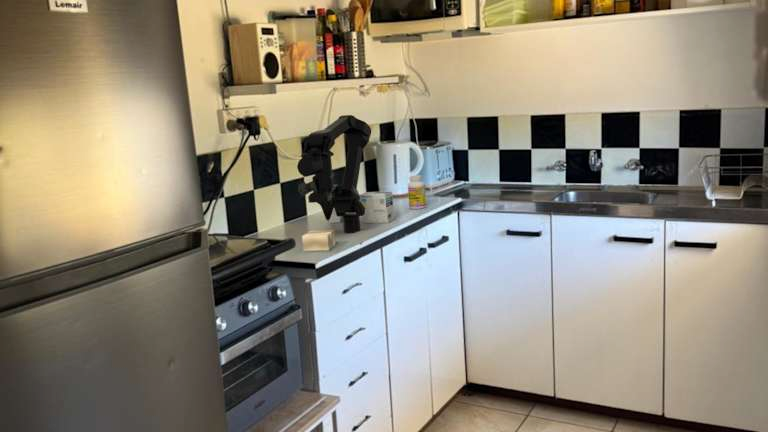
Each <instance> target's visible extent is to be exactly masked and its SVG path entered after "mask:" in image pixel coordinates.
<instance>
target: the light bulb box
mask: <svg viewBox="0 0 768 432" xmlns="http://www.w3.org/2000/svg"><path fill="white" fill-rule="evenodd" d="M359 195H360V202H361V203H362V205H363V206H364V207H365V214H364V215H363V216H361V223H362V224H388V223H390V222H392V221H395V218H396V217H395V210H394V200H393V199H394V198H393V197H394V195H393V191H391V190H390V191H366V192H363V193H360V194H359Z"/></svg>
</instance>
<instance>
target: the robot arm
mask: <svg viewBox="0 0 768 432" xmlns="http://www.w3.org/2000/svg"><path fill="white" fill-rule="evenodd" d="M343 134H344V135H345V141H346V143H347V145H348V149H347V150H348V151H347V155H346V161H345V167H344V174H343V180H342V186H341V185H340V184H334V177H335V173H333V163H332V157H333V156H334V155H335V153H334V152H333V151H331V150H332V148H333V147H334V146H335V145H336V141H335V140H337V139H338V138H339V137H340V136H341V135H343ZM371 135H372V128H371V126H370V125H369V124H368V123H367V122H366V121H364V120H361V119H358V118H357V117H356V116H354V115H352V114H345V115H344V114H343V115H340V116H339V117H338V119H336V120H334V121H333V122H332V123H330V124H329V125H328V126H327V127H325V128H324V129H321V130H316V131H313V132H310V133H309V134H308V137H307V141H306V143H305V148H304V150H303V153H302V154H301V159H300V158H299V160H298V162H297V166H296V167H297V171H298V172H299V174H300V175H302V176H303V177H310V176H312V175H313V176H312V178H311V179H312V180H311V181H309V182H306V181H303V182H301V183H298V187H297V192H298V193H299V194H300V195H301V197H305V195H307V194H309V195H308V197H307V199H308V203H317V204H318V205H319V206H320V208H321V210H322V213H323V215H324V217H325V220H326V221H329V220H330V218H331V215H332V211H333V208H335V212H336V215H337V217H339V216H343V221H342V224H343V233H344V234H346V235H347V234H355V233H358V232H361V231H364V229H361V222H360V221H361V220H360V217H362V216H363V215H364V214H365V207H364V206H363V205H362V203H361V202H360V194H359V191H358V182H359V175H360V171H361V162H362V156H363V151H364V148H365V147H366V146H367V145H368V143H370V138H371Z"/></svg>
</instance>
